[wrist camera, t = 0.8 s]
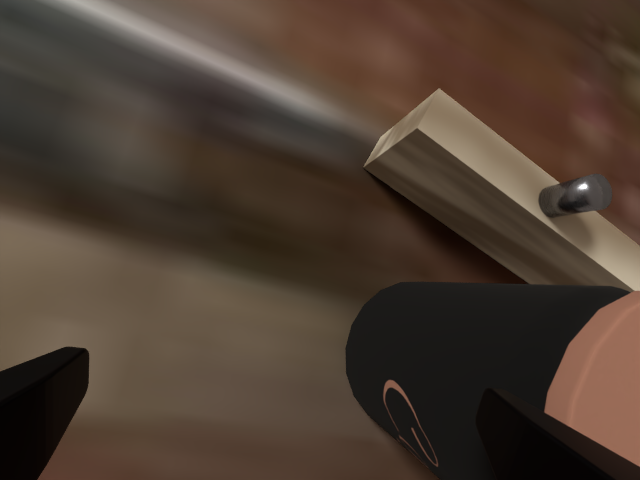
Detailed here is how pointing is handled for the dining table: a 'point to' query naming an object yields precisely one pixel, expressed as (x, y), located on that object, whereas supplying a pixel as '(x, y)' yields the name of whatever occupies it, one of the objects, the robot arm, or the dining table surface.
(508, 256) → the bench stop
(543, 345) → the coffee jar
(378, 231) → the dining table surface
